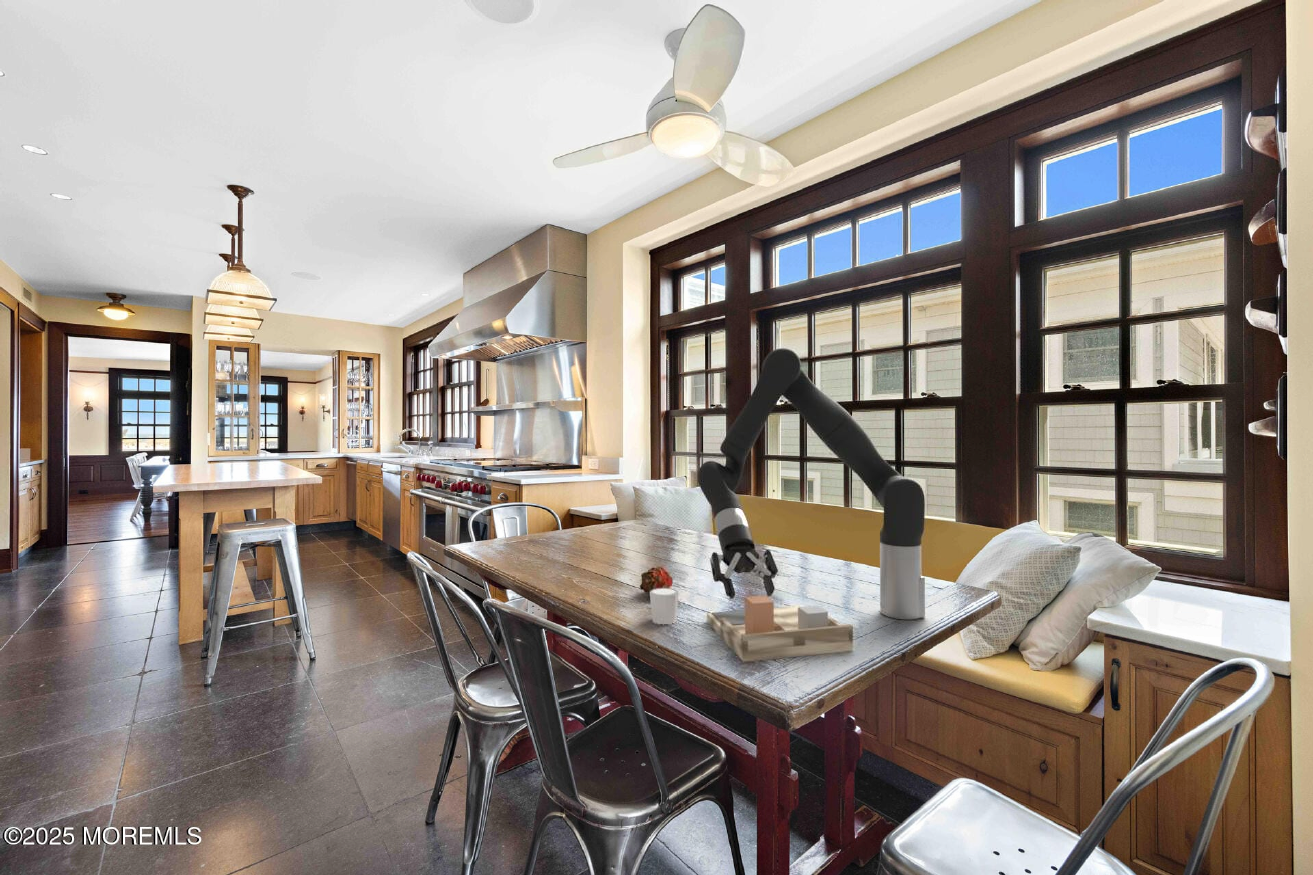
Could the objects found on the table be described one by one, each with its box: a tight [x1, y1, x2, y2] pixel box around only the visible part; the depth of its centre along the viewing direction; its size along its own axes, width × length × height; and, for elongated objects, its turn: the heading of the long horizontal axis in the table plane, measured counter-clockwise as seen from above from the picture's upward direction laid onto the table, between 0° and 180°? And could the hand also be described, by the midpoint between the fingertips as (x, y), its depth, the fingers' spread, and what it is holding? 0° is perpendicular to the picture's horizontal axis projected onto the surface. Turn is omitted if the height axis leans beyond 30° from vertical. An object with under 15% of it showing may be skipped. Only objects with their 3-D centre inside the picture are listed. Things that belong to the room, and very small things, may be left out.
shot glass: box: [649, 587, 680, 626], centre depth 137 cm, size 7×7×7 cm
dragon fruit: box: [639, 565, 673, 596], centre depth 158 cm, size 8×8×12 cm
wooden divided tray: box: [706, 605, 854, 663], centre depth 126 cm, size 24×24×5 cm
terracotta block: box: [744, 595, 775, 634], centre depth 119 cm, size 4×4×8 cm
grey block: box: [798, 605, 829, 629], centre depth 122 cm, size 4×4×5 cm
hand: (751, 595), depth 123 cm, fingers open, 8 cm apart
